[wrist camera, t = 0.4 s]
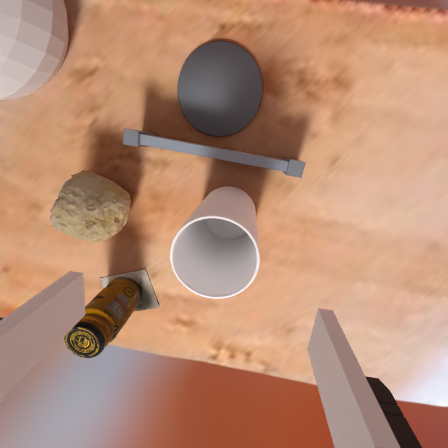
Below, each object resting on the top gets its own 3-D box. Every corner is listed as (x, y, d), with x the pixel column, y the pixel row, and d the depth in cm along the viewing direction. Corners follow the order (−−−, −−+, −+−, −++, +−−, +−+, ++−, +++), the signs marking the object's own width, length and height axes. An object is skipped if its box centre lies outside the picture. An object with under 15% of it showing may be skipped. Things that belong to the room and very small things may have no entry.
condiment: (100, 277, 44) (48, 324, 33) (145, 268, 43) (108, 314, 31) (115, 313, 46) (71, 369, 35) (159, 306, 45) (129, 361, 33)
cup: (250, 181, 37) (251, 207, 22) (259, 235, 39) (266, 293, 24) (195, 191, 38) (159, 223, 23) (207, 243, 40) (181, 303, 25)
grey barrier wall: (141, 144, 37) (123, 144, 31) (142, 130, 36) (123, 128, 31) (293, 172, 36) (301, 177, 31) (297, 159, 35) (305, 162, 30)
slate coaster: (173, 128, 36) (173, 128, 35) (184, 35, 32) (183, 34, 32) (252, 142, 35) (252, 142, 35) (271, 50, 32) (271, 49, 32)
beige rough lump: (45, 150, 31) (94, 194, 28) (112, 167, 41) (154, 201, 37) (18, 215, 33) (61, 263, 30) (87, 217, 43) (125, 254, 40)
